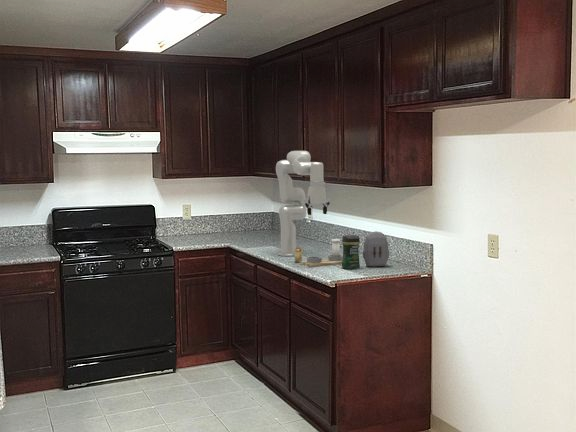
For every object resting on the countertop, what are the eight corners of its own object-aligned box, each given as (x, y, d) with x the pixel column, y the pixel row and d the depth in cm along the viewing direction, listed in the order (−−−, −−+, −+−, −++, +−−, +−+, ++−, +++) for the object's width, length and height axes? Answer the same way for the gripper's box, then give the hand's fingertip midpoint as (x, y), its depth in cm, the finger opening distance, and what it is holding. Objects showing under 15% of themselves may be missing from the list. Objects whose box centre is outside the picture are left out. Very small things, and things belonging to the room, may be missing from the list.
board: (299, 263, 378) (299, 261, 377) (336, 260, 387) (336, 257, 387) (310, 267, 365) (310, 264, 365) (347, 263, 374) (347, 261, 374)
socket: (305, 261, 375) (305, 257, 375) (317, 260, 379) (317, 256, 378) (311, 263, 368) (310, 259, 368) (323, 262, 371) (323, 258, 371)
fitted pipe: (326, 259, 381) (326, 239, 380) (338, 258, 384) (338, 238, 383) (332, 261, 374) (332, 240, 372) (345, 260, 377) (345, 239, 376)
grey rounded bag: (388, 265, 369) (388, 230, 367) (390, 267, 360) (390, 232, 359) (361, 265, 368) (361, 230, 366) (363, 268, 360) (363, 232, 358)
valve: (293, 262, 383) (292, 247, 382) (300, 261, 385) (300, 247, 384) (297, 263, 378) (296, 249, 377) (304, 262, 380) (304, 248, 379)
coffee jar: (346, 270, 355) (345, 236, 353) (340, 267, 362) (339, 234, 361) (361, 268, 358) (361, 235, 357) (355, 266, 366) (355, 233, 364)
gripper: (327, 183, 373) (327, 213, 374) (300, 184, 366) (300, 214, 368) (333, 184, 366) (333, 214, 368) (305, 184, 359) (306, 215, 361)
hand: (317, 214), depth 368 cm, fingers open, 9 cm apart
